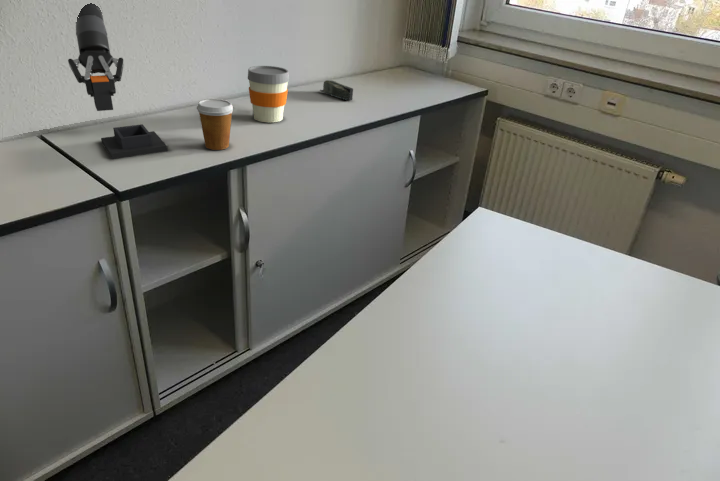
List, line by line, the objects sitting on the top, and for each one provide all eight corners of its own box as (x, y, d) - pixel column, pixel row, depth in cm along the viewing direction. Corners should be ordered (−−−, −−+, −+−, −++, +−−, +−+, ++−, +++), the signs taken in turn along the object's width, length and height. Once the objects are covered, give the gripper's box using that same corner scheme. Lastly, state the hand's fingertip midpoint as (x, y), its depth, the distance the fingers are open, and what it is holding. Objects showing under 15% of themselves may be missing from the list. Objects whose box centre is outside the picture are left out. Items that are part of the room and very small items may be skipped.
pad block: (97, 111, 144) (91, 80, 140) (95, 105, 148) (89, 76, 144) (113, 109, 146) (108, 80, 142) (110, 104, 150) (106, 75, 145)
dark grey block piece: (354, 87, 193) (324, 77, 201) (349, 88, 191) (319, 78, 199) (353, 101, 196) (323, 90, 204) (347, 102, 194) (318, 91, 201)
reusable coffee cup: (251, 124, 165) (250, 74, 158) (245, 112, 175) (244, 65, 168) (292, 123, 169) (293, 75, 162) (283, 112, 179) (284, 65, 172)
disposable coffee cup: (240, 149, 149) (239, 106, 143) (206, 154, 144) (204, 109, 138) (226, 138, 156) (225, 97, 150) (194, 142, 151) (191, 99, 145)
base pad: (111, 159, 138) (109, 142, 135) (101, 143, 146) (98, 127, 144) (167, 151, 145) (165, 135, 142) (154, 136, 153) (152, 120, 151)
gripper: (121, 45, 152) (131, 100, 149) (64, 46, 147) (73, 103, 144) (120, 29, 146) (130, 86, 143) (60, 29, 140) (69, 89, 137)
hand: (101, 94), depth 143 cm, fingers closed on pad block, 4 cm apart
